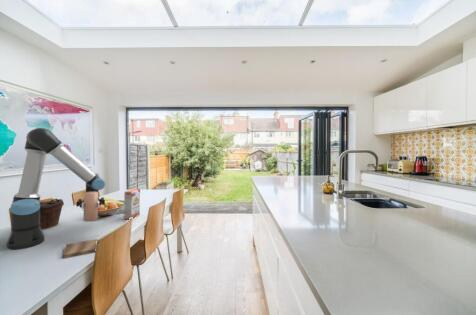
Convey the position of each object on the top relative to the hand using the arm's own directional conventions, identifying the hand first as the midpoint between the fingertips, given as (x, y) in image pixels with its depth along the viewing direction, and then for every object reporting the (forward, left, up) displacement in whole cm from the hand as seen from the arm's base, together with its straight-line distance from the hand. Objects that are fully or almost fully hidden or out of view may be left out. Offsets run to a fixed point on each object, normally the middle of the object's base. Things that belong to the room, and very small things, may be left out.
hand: (90, 206), depth 128 cm
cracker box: (+26, +36, -20) cm, 49 cm away
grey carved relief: (+21, +54, -21) cm, 62 cm away
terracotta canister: (0, +5, -9) cm, 10 cm away
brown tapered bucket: (-26, +42, -20) cm, 53 cm away
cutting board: (-4, -11, -20) cm, 23 cm away
